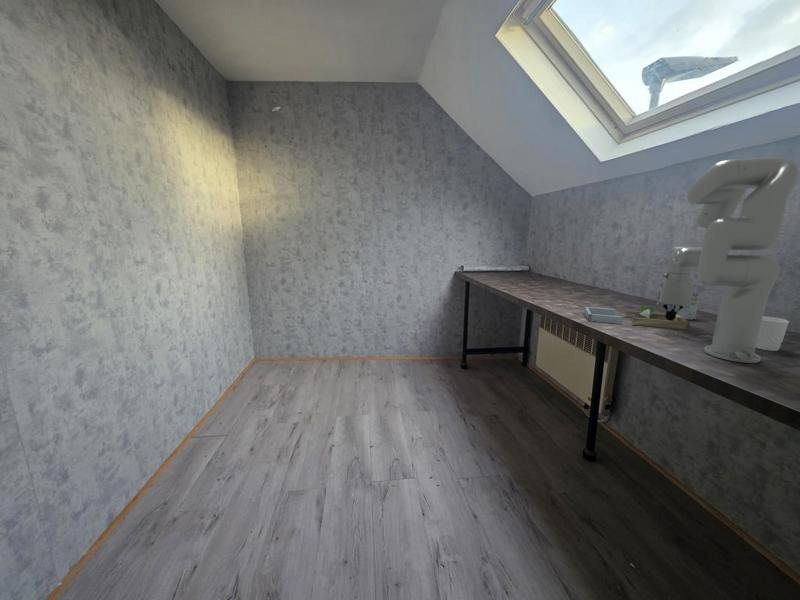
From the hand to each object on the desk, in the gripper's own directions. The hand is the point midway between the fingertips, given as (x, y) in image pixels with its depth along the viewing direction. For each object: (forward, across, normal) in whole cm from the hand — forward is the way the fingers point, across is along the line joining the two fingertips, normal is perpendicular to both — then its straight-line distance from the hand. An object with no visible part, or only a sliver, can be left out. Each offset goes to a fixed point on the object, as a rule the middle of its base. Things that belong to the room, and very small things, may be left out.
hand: (669, 320), depth 136 cm
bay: (+2, -24, 0) cm, 25 cm away
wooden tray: (+2, -5, 0) cm, 5 cm away
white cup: (+2, +20, -22) cm, 30 cm away
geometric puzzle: (+2, -8, 0) cm, 9 cm away
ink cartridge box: (+2, +8, +14) cm, 16 cm away
